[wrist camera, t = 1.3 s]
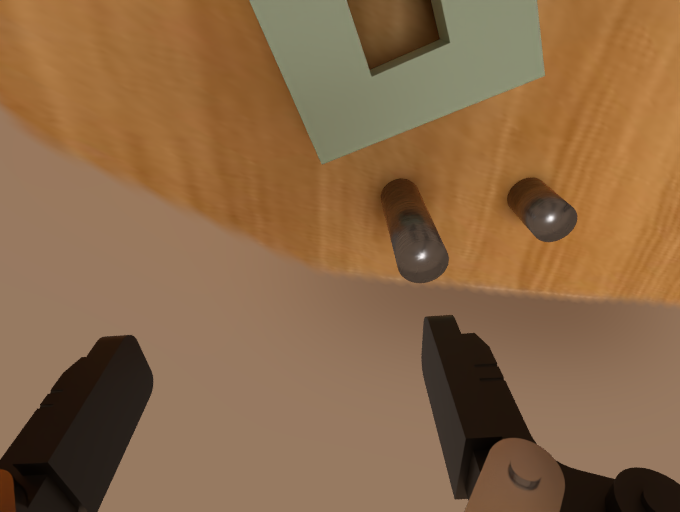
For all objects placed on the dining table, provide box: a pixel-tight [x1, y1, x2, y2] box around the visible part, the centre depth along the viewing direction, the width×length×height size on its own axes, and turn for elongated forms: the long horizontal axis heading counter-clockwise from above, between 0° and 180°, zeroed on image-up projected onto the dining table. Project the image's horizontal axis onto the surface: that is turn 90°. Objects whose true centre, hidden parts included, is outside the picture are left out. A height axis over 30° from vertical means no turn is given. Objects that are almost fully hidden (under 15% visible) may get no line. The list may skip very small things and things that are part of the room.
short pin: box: [507, 178, 577, 242], centre depth 31 cm, size 3×3×5 cm
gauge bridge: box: [249, 0, 545, 164], centre depth 24 cm, size 14×12×6 cm
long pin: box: [381, 179, 449, 283], centre depth 29 cm, size 3×3×10 cm
